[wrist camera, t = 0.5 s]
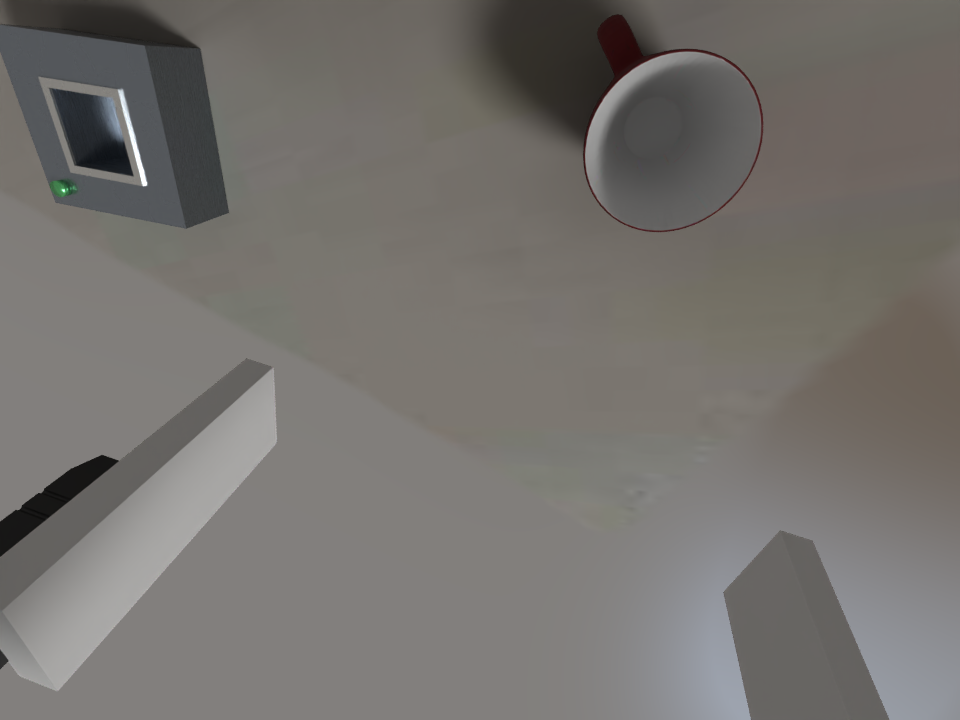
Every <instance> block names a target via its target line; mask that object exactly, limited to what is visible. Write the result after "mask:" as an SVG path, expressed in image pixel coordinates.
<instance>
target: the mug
mask: <svg viewBox="0 0 960 720" xmlns="http://www.w3.org/2000/svg"><path fill="white" fill-rule="evenodd" d="M597 35H598V39H599V42H600V44H601V46H602V49H603V51H604V53H605V55H606V57H607V59H608V61H609V63H610V65H611V68H612V70H613V72H614V75H615V77H614V79H613V80H612V82H611V83H610V85H609V86H608V87H607V89H606V90H605V91H604V93H603V94H602V96H601V98H600V99H599V101H598V102H597V104H596V106H595V108H594V110H593V112H592V115H591V117H590V120H589V123H588V126H587V130H586V134H585V140H584V151H583V160H584V170H585V175H586V179H587V182H588V185H589V187H590V190H591V192H592V194H593V195H594V197H595V199H596V200H597V202H598V203H599V204H600V206H601V207H602V208H603V209H604V210H605V211H606V212H607V213H608V214H609V215H610V216H611V217H613V218H614V219H616V220H617V221H619V222H621V223H622V224H624V225H627V226H629V227H631V228H635V229H638V230H643V231H650V232H667V231H674V230H679V229H683V228H686V227H689V226H692V225H695V224H697V223H699V222H701V221H703V220H705V219H707V218H708V217H710V216H712V215H713V214H715V213H716V212H717V211H719V210H720V209H721V208H723V207H724V206H725V205H726V204H727V203H728V202H729V201H730V200H731V199H732V198H733V197H734V196H735V195H736V194H737V193H738V191H739V190H740V189H741V188H742V186H743V185H744V183H745V182H746V180H747V179H748V177H749V175H750V173H751V172H752V170H753V167H754V165H755V163H756V160H757V158H758V154H759V151H760V147H761V143H762V136H763V114H762V109H761V104H760V101H759V97H758V95H757V93H756V90H755V88H754V86H753V85H752V83H751V81H750V80H749V79H748V77H747V76H746V75H745V73H744V72H743V71H742V70H741V69H740V68H739V67H737V66H736V65H735V64H734V63H732V62H731V61H729V60H728V59H726V58H724V57H722V56H720V55H717V54H715V53H712V52H708V51H704V50H698V49H677V50H670V51H664V52H660V53H657V54H653V55H649V56H643V55H642V53H641V51H640V49H639V46H638V44H637V42H636V39H635V37H634V35H633V33H632V31H631V29H630V27H629V25H628V23H627V21H626V20H625V18H624V17H623V16H622V15H619V14H617V15H613V16H611V17H609V18H608V19H606V20H605V21H604V22H603V23H602V24H601V25H600V27H599V28H598V32H597Z"/></svg>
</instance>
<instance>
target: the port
mask: <svg viewBox="0 0 960 720" xmlns="http://www.w3.org/2000/svg"><path fill="white" fill-rule="evenodd" d="M0 52H1V55H2V58H3V60H4V63H5V66H6V68H7V71H8V74H9V77H10V79H11V82H12V85H13V88H14V90H15V93H16V96H17V98H18V101H19V104H20V107H21V109H22V112H23V115H24V118H25V120H26V123H27V126H28V128H29V131H30V134H31V137H32V139H33V142H34V145H35V148H36V150H37V153H38V156H39V158H40V161H41V164H42V167H43V169H44V172H45V175H46V178H47V180H48V183H49V186H50V188H51V191H52V194H53V197H54V199H55V202H56V203H60V204H65V205H70V206H75V207H80V208H85V209H90V210H95V211H100V212H106V213H111V214H116V215H121V216H126V217H131V218H136V219H141V220H146V221H151V222H156V223H161V224H166V225H171V226H176V227H181V228H189V227H192V226H194V225H197V224H200V223H203V222H205V221H208V220H211V219H213V218H216V217H219V216H221V215H224V214H227V213H229V211H228V206H227V200H226V194H225V188H224V183H223V177H222V171H221V165H220V160H219V154H218V148H217V143H216V137H215V131H214V125H213V120H212V114H211V108H210V102H209V97H208V91H207V85H206V79H205V74H204V68H203V62H202V57H201V51H200V49H198V48H191V47H184V46H177V45H170V44H163V43H156V42H149V41H142V40H135V39H128V38H121V37H114V36H107V35H100V34H93V33H86V32H79V31H72V30H65V29H57V28H44V27H31V26H18V25H5V24H0Z"/></svg>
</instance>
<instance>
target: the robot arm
mask: <svg viewBox="0 0 960 720" xmlns="http://www.w3.org/2000/svg"><path fill="white" fill-rule="evenodd" d="M276 432H277V431H276V409H275V388H274V368H273V367H271V366H268V365H265V364H262V363H259V362H256V361H253V360H249V359H245V360H244V361H243V362H241V364H239V365H238V366H237V367H235V368H234V369H233V370H232V371H230V372H229V373H228V374H227V375H225V376H224V377H223V378H222V379H220V380H219V381H218V382H217V383H215V384H214V385H213V386H212V387H211V388H209V389H208V390H207V391H206V392H204V393H203V394H202V395H201V396H199V397H198V398H197V399H196V400H194V401H193V402H192V403H191V404H189V405H188V406H187V407H186V408H184V409H183V410H182V411H181V412H180V413H178V414H177V415H176V416H174V417H173V418H172V419H171V420H170V421H168V422H167V423H166V424H165V425H164V426H162V427H161V428H160V429H159V430H157V431H156V432H155V433H153V434H152V435H151V436H150V437H149V438H147V439H146V440H145V441H143V442H142V443H141V444H140V445H139V446H137V447H136V448H135V449H134V450H132V451H131V452H130V453H129V454H127V455H126V456H125V457H124V458H122V459H121V460H120V461H118V460H115V459H112V458H109V457H107V456H104V455H101V456H99V457H96V458H94V459H92V460H90V461H87V462H85V463H83V464H81V465H79V466H77V467H74V468H72V469H70V470H69V471H67V472H66V473H65V474H64V475H62V476H61V477H59V478H58V479H57V480H55V481H54V482H53V483H51V484H50V485H49V486H47V487H46V488H45V489H44V491H43V492H42V493H38V494H37V495H35V496H34V497H33V498H31V499H30V500H29V501H27V502H26V503H25V504H23V505H22V508H21V509H20V510H15V511H14V512H13V513H11V514H10V515H8V516H7V517H6V518H4V519H3V520H2V521H0V669H1V668H2V667H3V666H4V665H5V664H6V663H7V662H9V663H10V665H11V666H12V667H13V668H14V670H15V671H16V672H17V674H18V675H19V676H20V677H23V678H25V679H28V680H30V681H33V682H36V683H38V684H40V685H43V686H46V687H48V688H51V689H53V690H56V691H58V690H59V689H60V688H61V687H62V686H63V685H64V684H65V682H66V681H67V680H68V679H69V678H70V677H71V676H72V674H73V673H74V672H75V671H76V670H77V669H78V668H79V667H80V665H81V664H82V663H83V662H84V661H85V660H86V659H87V658H88V656H89V655H90V654H91V653H92V652H93V651H94V649H95V648H96V647H97V646H98V645H99V644H100V643H101V642H102V640H103V639H104V638H105V637H106V636H107V635H108V634H109V632H110V631H111V630H112V629H113V628H114V627H115V626H116V625H117V623H118V622H119V621H120V620H121V619H122V618H123V617H124V616H125V614H126V613H127V612H128V611H129V610H130V609H131V608H132V606H133V605H134V604H135V603H136V602H137V601H138V600H139V599H140V597H141V596H142V595H143V594H144V593H145V592H146V591H147V589H148V588H149V587H150V586H151V585H152V584H153V583H154V582H155V580H156V579H157V578H158V577H159V576H160V575H161V574H162V572H163V571H164V570H165V569H166V568H167V567H168V566H169V565H170V563H171V562H172V561H173V560H174V559H175V557H176V556H177V555H178V554H179V553H180V552H181V551H182V549H184V547H185V546H186V545H187V544H188V543H189V542H190V541H191V540H192V538H193V537H194V536H195V535H196V534H197V533H198V532H199V530H200V529H201V528H202V527H203V526H204V525H205V524H206V522H207V521H208V520H209V519H210V518H211V517H212V516H213V515H214V513H215V512H216V511H217V510H218V509H219V508H220V506H222V504H223V503H224V502H225V501H226V500H227V499H228V498H229V496H230V495H231V494H232V493H233V492H234V491H235V490H236V488H237V487H238V486H239V485H240V484H241V483H242V482H243V480H244V479H245V478H246V477H247V476H248V475H249V474H250V473H251V472H252V470H253V469H254V468H255V467H256V466H257V465H258V464H259V462H260V461H261V460H262V459H263V458H264V457H265V456H266V454H267V453H268V452H269V451H270V450H271V449H272V448H273V447H274V445H275V444H276V443H277V433H276ZM724 597H725V602H726V606H727V611H728V615H729V620H730V624H731V629H732V634H733V638H734V643H735V647H736V652H737V656H738V661H739V666H740V671H741V675H742V680H743V684H744V689H745V693H746V698H747V703H748V707H749V712H750V716H751V720H889V718H888V715H887V713H886V711H885V708H884V706H883V704H882V701H881V699H880V697H879V694H878V692H877V690H876V687H875V685H874V683H873V680H872V678H871V676H870V674H869V671H868V669H867V666H866V664H865V662H864V659H863V657H862V655H861V653H860V650H859V648H858V645H857V643H856V641H855V638H854V636H853V634H852V631H851V629H850V627H849V624H848V622H847V620H846V617H845V615H844V613H843V610H842V608H841V606H840V604H839V601H838V599H837V596H836V594H835V592H834V589H833V587H832V585H831V582H830V580H829V578H828V575H827V573H826V571H825V569H824V566H823V564H822V562H821V559H820V557H819V555H818V552H817V550H816V548H815V545H814V543H813V541H812V540H809V539H805V538H802V537H799V536H796V535H793V534H790V533H787V532H784V531H779V532H778V533H777V534H776V535H775V537H774V538H773V539H772V540H771V541H770V542H769V543H768V544H767V545H766V546H765V547H764V549H763V550H762V551H761V552H760V553H759V554H758V555H757V556H756V557H755V558H754V560H752V562H751V563H750V564H749V565H748V566H747V567H746V568H745V569H744V570H743V571H742V572H741V574H740V575H739V576H738V577H737V578H736V579H735V580H734V581H733V582H732V583H731V584H730V585H729V587H728V588H727V589H726V590H725V591H724Z"/></svg>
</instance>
